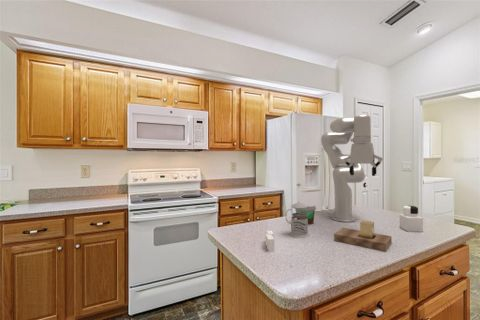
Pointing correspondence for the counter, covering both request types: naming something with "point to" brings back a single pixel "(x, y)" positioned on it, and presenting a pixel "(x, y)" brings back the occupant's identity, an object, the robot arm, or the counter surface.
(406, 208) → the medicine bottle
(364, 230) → the brass peg
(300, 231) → the french press
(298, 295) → the counter surface
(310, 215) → the food container
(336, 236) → the walnut square hole board
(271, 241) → the napkin holder
